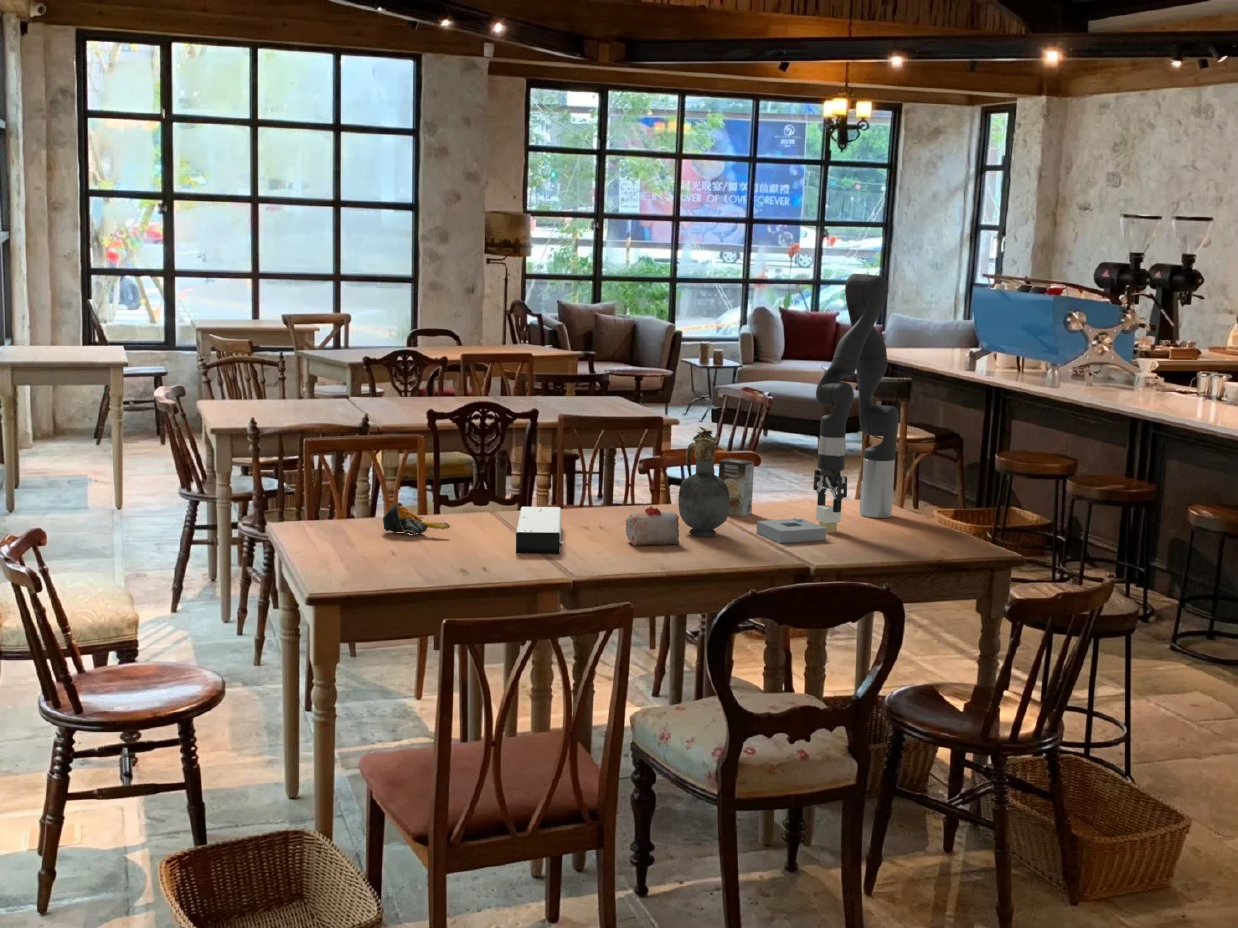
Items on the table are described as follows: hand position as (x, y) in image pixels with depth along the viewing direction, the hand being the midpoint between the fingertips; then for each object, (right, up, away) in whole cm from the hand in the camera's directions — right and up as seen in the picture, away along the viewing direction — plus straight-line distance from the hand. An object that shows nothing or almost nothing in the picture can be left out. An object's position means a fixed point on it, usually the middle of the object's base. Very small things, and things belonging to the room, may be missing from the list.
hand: (828, 509), depth 374 cm
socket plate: (-12, -7, -7) cm, 16 cm away
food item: (-50, -9, -18) cm, 54 cm away
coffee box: (-24, -2, +25) cm, 35 cm away
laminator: (-80, -8, -17) cm, 82 cm away
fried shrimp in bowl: (-115, -7, -13) cm, 116 cm away
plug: (0, -6, +1) cm, 6 cm away
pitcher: (-37, -7, -4) cm, 37 cm away
